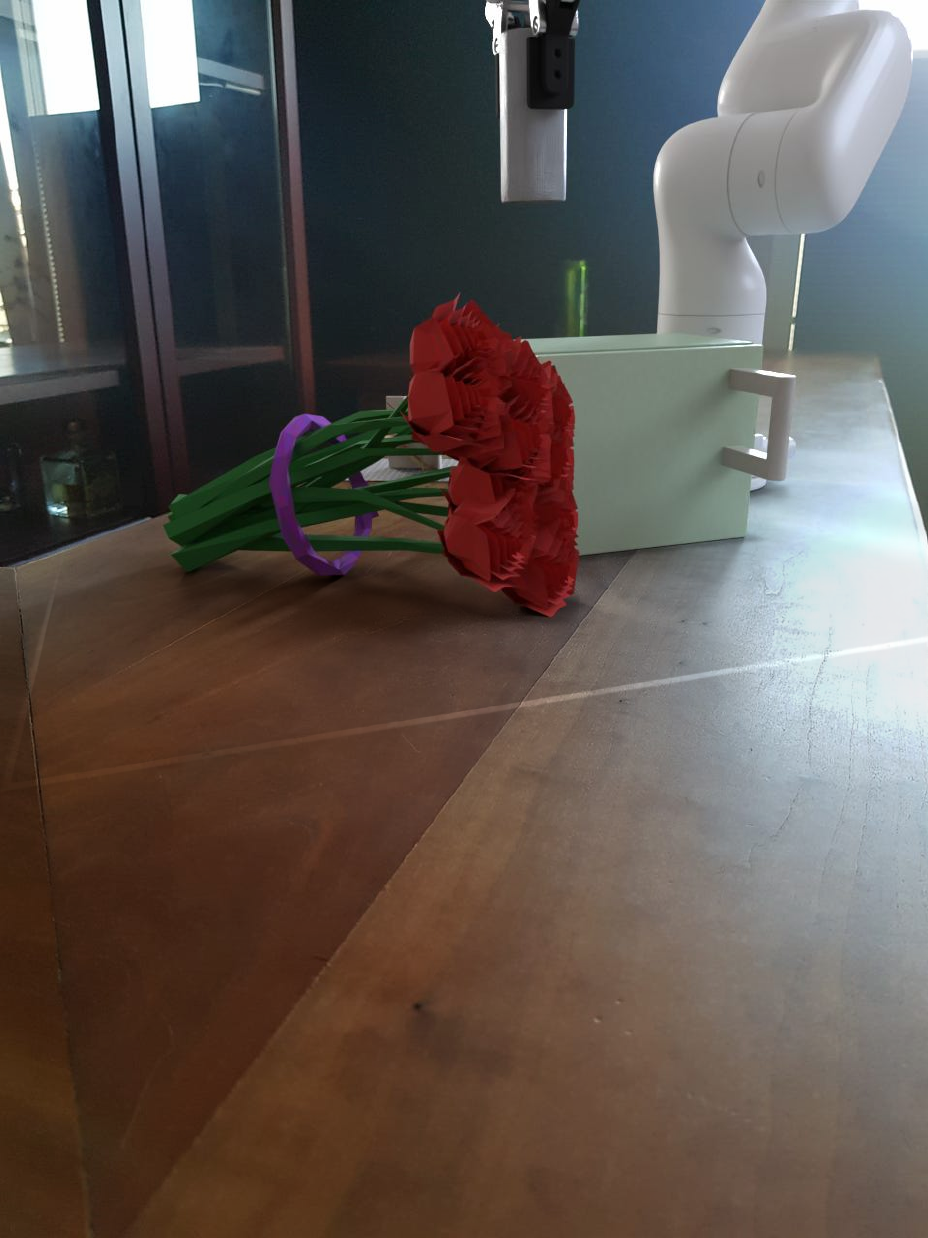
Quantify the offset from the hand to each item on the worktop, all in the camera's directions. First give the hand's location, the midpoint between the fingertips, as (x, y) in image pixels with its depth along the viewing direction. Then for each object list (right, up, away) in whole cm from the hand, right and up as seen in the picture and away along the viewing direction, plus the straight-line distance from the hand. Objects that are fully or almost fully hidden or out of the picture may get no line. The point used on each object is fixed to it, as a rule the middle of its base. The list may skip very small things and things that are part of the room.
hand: (533, 110), depth 64 cm
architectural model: (-10, -19, +36) cm, 42 cm away
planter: (0, -6, +2) cm, 6 cm away
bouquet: (-12, -32, 0) cm, 34 cm away
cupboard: (+7, -27, +12) cm, 31 cm away
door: (+10, -30, +4) cm, 32 cm away
